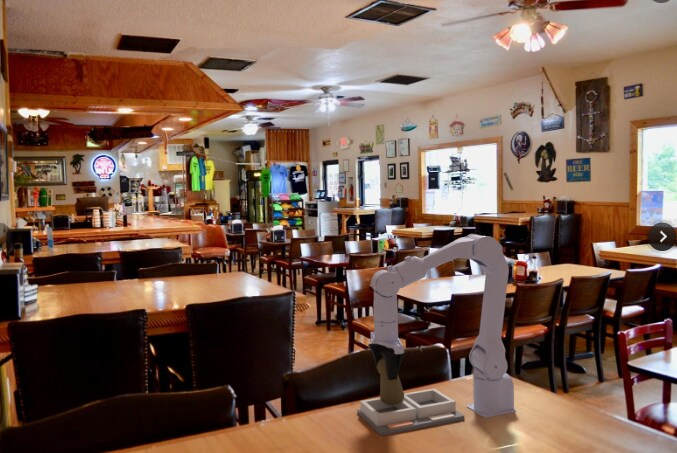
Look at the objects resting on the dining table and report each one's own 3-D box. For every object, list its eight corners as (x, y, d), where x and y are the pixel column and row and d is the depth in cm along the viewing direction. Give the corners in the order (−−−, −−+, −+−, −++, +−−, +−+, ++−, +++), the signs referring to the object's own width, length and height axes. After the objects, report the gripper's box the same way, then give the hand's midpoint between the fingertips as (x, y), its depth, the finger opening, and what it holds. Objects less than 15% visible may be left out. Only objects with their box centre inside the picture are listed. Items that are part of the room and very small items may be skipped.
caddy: (434, 400, 145) (434, 387, 145) (464, 419, 132) (464, 405, 132) (357, 413, 138) (356, 400, 137) (381, 436, 124) (380, 420, 124)
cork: (405, 403, 135) (400, 367, 130) (380, 406, 135) (375, 370, 131) (403, 386, 140) (398, 351, 136) (379, 389, 141) (374, 354, 136)
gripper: (358, 316, 139) (360, 369, 139) (383, 328, 125) (384, 387, 126) (384, 313, 141) (385, 365, 142) (411, 325, 127) (412, 383, 128)
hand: (387, 375), depth 134 cm, fingers closed on cork, 5 cm apart
